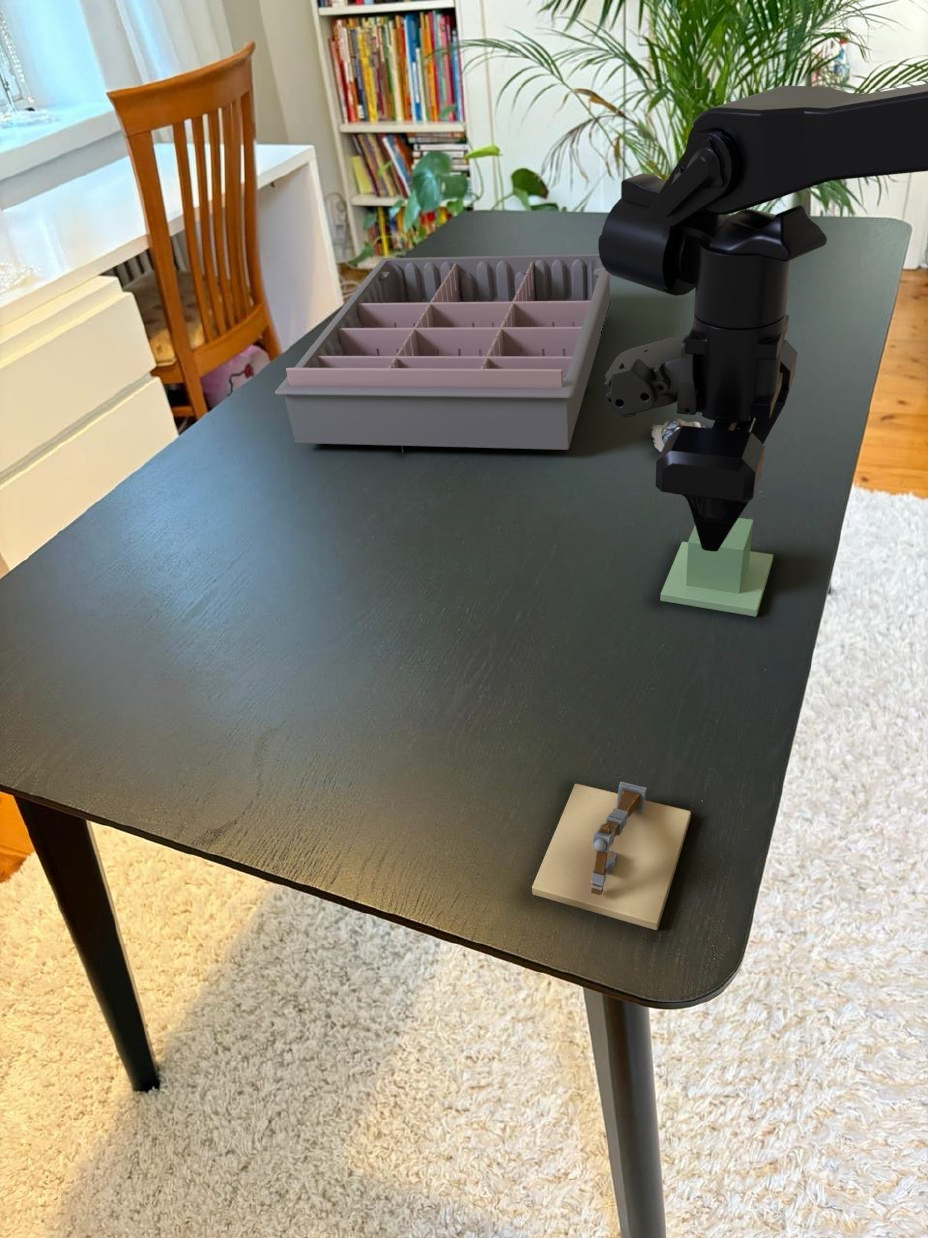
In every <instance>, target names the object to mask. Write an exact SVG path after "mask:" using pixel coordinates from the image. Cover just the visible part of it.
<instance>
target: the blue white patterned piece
mask: <svg viewBox="0 0 928 1238" xmlns="http://www.w3.org/2000/svg"><path fill="white" fill-rule="evenodd" d="M683 425H684V426H694V427H703V428H707V426H706V424H705V423H704V424H703V423H701V422H699V421H687V420H683V419H681V418H673V419H672V421H671V420H666V421H665V422H664V424H656V425H655V424H653V425H652V426H651V429H652V430H651V433H650V434H651V437H652V438H653V440H652V442H653V443H654V444H653V445H654V448H655V449H657V450H658V452H660V453H661V451H662V449H663V447H664V445H665V443H666V441H667V439H668V437H669V436H670V435H671V434H672V433H674V432H675V431H676V430H678V429H679V428H680V427H682V426H683Z"/></svg>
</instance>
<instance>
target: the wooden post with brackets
mask: <svg viewBox="0 0 928 1238" xmlns="http://www.w3.org/2000/svg"><path fill="white" fill-rule="evenodd" d="M647 789H648V788H647V787H644V786H639V785H635V784H633V783H628V782H624V781H620V782H619V785H618V790H617V794H618V798H617V806H616V809H615V808H613V811H612V812H611V814H609V815H608V816H607V818H606V823H605V824H602V825H601V826H600V828H599V829H598V831H597V832H596V833H595V834H594V838H593V846H592V848H593V849H596V850H597V853H596V860H595V868H594V871H593V872H592V879H591V883H592V886H591V887H592V889H591V893H593V894H596V895H601V894H602V892H603V886H604V882H605V880H606V875H607V874H610V875H613V871H614V866H617V858H618V853H616V852H614V851H609V848H610V846H611V845H612V844H613V843H614V838H615V836H616V835H617V836H619V835H621V833H622V830H623V828H624V827H625V826H626V825H627V819H628V818H629V817H630V816H631V815H632V814H633V813H634V812H635V813H639V814H641V813H642V812H643V811H644V804H645V800H646V796H647Z"/></svg>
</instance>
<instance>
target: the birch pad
mask: <svg viewBox="0 0 928 1238" xmlns="http://www.w3.org/2000/svg"><path fill="white" fill-rule="evenodd" d="M617 798H618V792H612V791H610V790H605V789H600V788H598V787H597V788H596V787H592V786H588V785H584V784H580V783H574V784H573V788H572V790H571V792H570V795H569V797H568V800H567V802H566V803H565V806H564V809H563V811H562V814H561V817H560V819H559V822H558V823H557V826H556V829H555V831H554V833H553V835H552V838H551V840H550V843H549V845H548V847H547V850H546V852H545V854H544V856H543V860H542V862H541V865H540V867H539V869H538V872H537V874H536V877H535V878H534V882H533V883H532V886H531V891H532V895H533V896H536V897H540V898H544V899H547V900H551V901H553V902H557V903H560V904H563V905H567V906H571V907H575V908H578V909H581V910H585V911H587V912H588V911H589V912H591V913H595V914H598V915H602V916H606V917H609V918H612V919H616V920H619V921H622V922H626V923H629V924H633V925H636V926H640V927H644V928H647V929H651V930H653V931H658V930H659V927H660V923H661V920H662V917H663V913H664V910H665V906H666V903H667V901H668V897H669V893H670V890H671V886H672V883H673V880H674V876H675V873H676V870H677V866H678V863H679V859H680V856H681V852H682V849H683V846H684V842H685V839H686V836H687V831H688V830H689V829H688V828H689V825H690V822H691V816H692V812H691V811H690V810H687V809H683V808H679V807H676V806H675V807H674V806H671V805H666V804H662V803H657V802H655V801H650V800H647V799H645V804H644V811H643V812H642V813H641V814H639V813H635V812H634V813H633V814H632V815H631V816H630V817H629V818H628V819H627V825H626V826H625V827H624V828H623V830H622V833H621V835H619V836H617V835H616V836H615V838H614V843H613V844H612V845H611V846H610V848H609V851H614V852H616V853H618V858H617V866H614V871H613V875H610V874H607V875H606V880H605V882H604V886H603V892H602V894H601V895H596V894H593V893H591V889H592V887H591V886H592V883H591V879H592V872H593V871H594V868H595V860H596V853H597V850H596V849H593V848H592V846H593V838H594V834H595V833H596V832H597V831H598V829H599V828H600V826H601V825H602V824H605V823H606V818H607V816H608V815H609V814H611V812H612V811H613V808H615V809H616V806H617Z"/></svg>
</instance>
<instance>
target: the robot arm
mask: <svg viewBox="0 0 928 1238" xmlns="http://www.w3.org/2000/svg"><path fill="white" fill-rule="evenodd" d="M922 172H928V82H927V83H922V84H916V85H910V86H905V87H904V86H903V87H899V88H893V89H888V90H884V91H883V90H882V91H876V92H870V93H861V92H859V93H858V92H847V91H843V90H840V89H837V88H834V87H831V86H814V85H813V86H811V85H790V84H789V85H780V86H777V87H774V88H773V87H772V88H771V89H766V90H764V91H760V92H757V93H755V94H751V95H749V96H745V97H742V98H739V99H735V100H732V101H730V102H727V103H723V104H719V105H716V106H714V107H710V108H708V109H706V110H704V111H702V112H700V113H699V114H698V115H697V116H696V117H695V118H694V119H693V121H692V127H691V129H690V131H689V133H688V136H687V141H686V145H685V149H684V152H683V154H682V155H681V157H680V158H679V160H678V162H677V163H676V165H675V166H674V168H673V170H672V171H671V173H670V175H669V176H668V177H667V179H666V180H664V179H662V178H660V177H658V176H657V175H653V174H649V173H644V172H642V173H639V174H635V175H634V176H631V177H627V178H625V179H622V181H621V183H620V198H619V199H618V200H617V201H616V203H615V204H614V205H613V206H612V208H610V211H609V213H608V214H607V216H606V219H605V221H604V224H603V226H602V230H601V234H600V235H599V236H598V246H597V247H598V254H599V257H600V260H601V262H602V265H603V267H604V268H605V269H606V271H607V272H608V273H610V276H613V277H616V278H619V279H622V280H624V281H625V280H626V281H628V282H632V283H634V284H638V285H641V286H643V287H646V288H649V289H653V290H656V291H658V292H661V293H665V294H668V295H672V296H676V297H677V296H678V297H679V296H684V295H686V294H689V293H690V292H691V291H694V290H695V291H694V308H693V309H694V310H693V322H692V328H691V329H690V331H689V333H688V334H684V335H681V336H671V337H668V338H667V337H666V338H664V339H660V340H657V341H653V342H648V343H645V344H642V345H639V346H635V347H631V348H629V349H626V350H624V351H623V352H621V353H619V354H618V355H617V356H616V358H615V359H614V361H613V362H612V364H611V365H610V367H609V369H607V371H606V373H605V375H604V378H605V382H604V387H605V392H606V395H605V396H604V400H603V401H604V403H605V405H606V406H608V407H611V408H613V409H614V412H615V413H616V414H618V415H619V417H620V418H623V419H625V418H631V417H635V416H636V415H637V413H643V412H647V411H650V410H653V409H657V408H662V407H665V406H670V405H673V404H675V403H676V414H677V415H687V416H695V415H696V414H697V413H701V417H702V418H704V419H707V420H711V421H714V422H713V425H712V427H706V428H703V427H694V426H684V425H683V426H682V427H680V428H679V429H678V430H676V431H675V432H674V433H672V434H671V435H670V436H669V437H668V439H667V441H666V443H665V445H664V447H663V449H662V451H661V452H660V453H659V455H658V456H657V459H656V461H655V487H656V488H657V490H659V491H660V492H662V493H666V494H667V493H669V494H673V495H680V496H682V497H684V499H686V501H687V504H688V506H689V509H690V512H691V515H692V519H693V523H694V526H696V530H697V533H698V537H699V540H700V543H701V547H702V549H703V550H706V551H713V552H716V551H718V550H719V548H720V547H721V545H722V543H723V542H724V540H725V539H726V537H727V535H728V534H729V532H730V531H731V529H732V527H733V526H734V524H735V523H736V521H737V520H738V518H740V516H741V515H742V513H743V512H744V511H745V509H746V507H748V504H749V503H750V502H751V501H752V500H753V499H754V497H755V495H756V491H757V489H758V486H759V483H760V480H761V476H762V470H763V465H764V458H765V449H766V447H765V445H764V444H765V443H766V440H767V438H768V437H769V435H770V433H771V431H772V430H773V427H774V426H775V424H776V422H777V420H778V418H779V416H780V415H781V413H782V410H783V409H784V407H785V405H786V403H787V399H788V397H789V393H790V391H791V387H792V384H793V381H794V378H795V376H796V367H797V359H798V351H797V350H796V349H795V348H794V347H793V345H792V344H791V343H790V342H789V341H788V340H787V339H785V338H786V335H787V332H788V330H789V323H790V322H789V321H790V314H787V305H788V295H789V287H790V278H791V268H792V260H795V259H797V258H799V257H802V256H804V255H806V254H808V253H811V252H813V251H816V250H818V249H820V248H823V247H824V246H825V245H826V244H827V242H828V237H827V235H826V234H825V232H824V231H823V229H822V228H821V227H820V225H818V224H817V223H816V222H814V221H813V220H812V219H811V218H810V217H809V215H808V213H807V211H806V208H805V206H804V205H802V204H798V205H796V206H794V207H791V208H788V209H786V210H783V211H781V212H779V213H776V214H775V213H771V212H770V213H769V212H767V211H762V210H758V209H754V208H753V207H756V206H759V205H762V204H765V203H768V202H771V201H775V200H778V199H781V198H783V197H786V196H789V195H792V194H795V193H797V192H801V191H803V190H807V189H809V188H810V189H811V188H813V187H816V186H818V185H822V184H825V183H828V182H832V181H841V180H842V181H843V180H852V179H862V178H863V179H864V178H872V177H881V176H882V177H883V176H893V175H904V174H911V173H912V174H913V173H922ZM750 208H751V209H750ZM729 215H731V216H729Z"/></svg>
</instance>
